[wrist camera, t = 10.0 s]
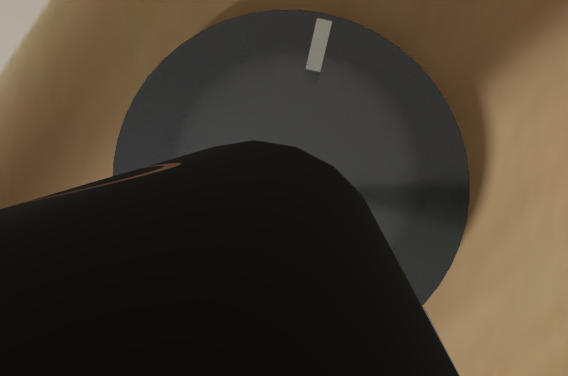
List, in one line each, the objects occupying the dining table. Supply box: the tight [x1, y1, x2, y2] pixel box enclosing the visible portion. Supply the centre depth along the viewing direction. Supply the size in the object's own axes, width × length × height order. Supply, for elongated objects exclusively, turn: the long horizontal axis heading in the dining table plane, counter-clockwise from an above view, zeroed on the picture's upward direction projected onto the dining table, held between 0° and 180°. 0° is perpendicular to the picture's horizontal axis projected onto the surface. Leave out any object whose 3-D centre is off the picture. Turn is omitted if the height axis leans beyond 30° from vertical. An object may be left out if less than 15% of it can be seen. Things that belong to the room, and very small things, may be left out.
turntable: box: [113, 10, 469, 306], centre depth 25 cm, size 26×26×7 cm
